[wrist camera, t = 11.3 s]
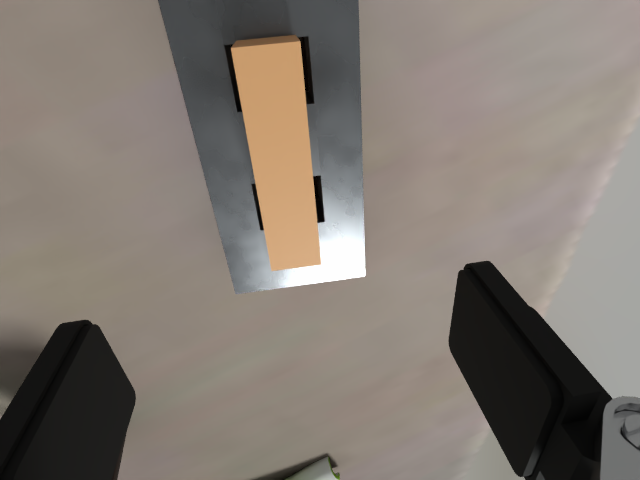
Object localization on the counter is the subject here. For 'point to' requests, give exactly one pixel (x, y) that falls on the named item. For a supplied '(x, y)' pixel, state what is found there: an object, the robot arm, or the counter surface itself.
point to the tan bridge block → (279, 146)
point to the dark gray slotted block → (231, 139)
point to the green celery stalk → (316, 472)
